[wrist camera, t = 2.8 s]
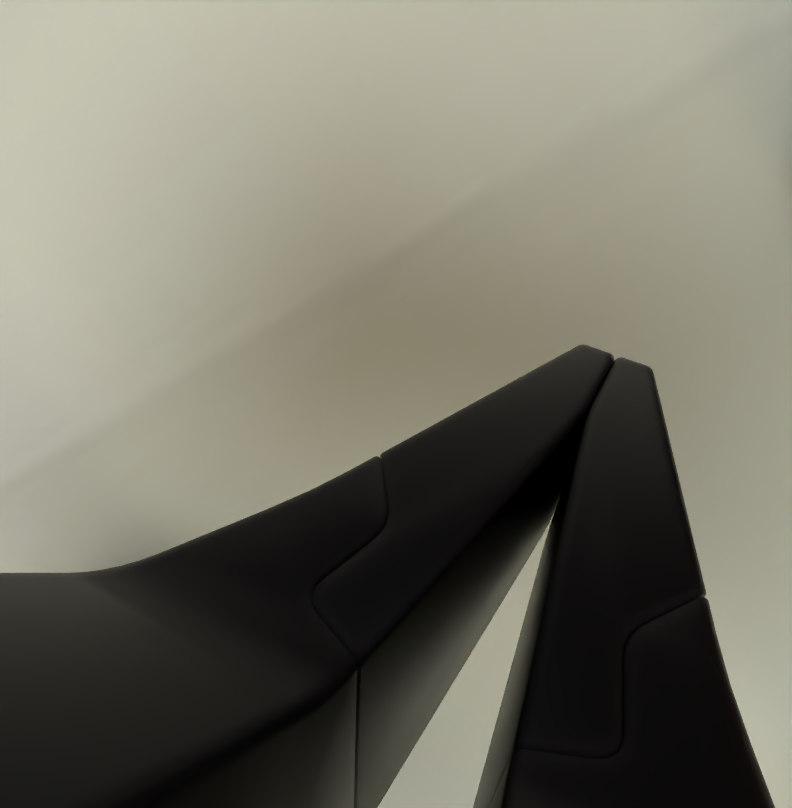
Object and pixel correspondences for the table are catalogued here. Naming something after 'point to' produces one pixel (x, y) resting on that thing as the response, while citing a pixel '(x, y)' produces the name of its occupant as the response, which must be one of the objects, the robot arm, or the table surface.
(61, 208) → the table surface
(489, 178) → the table surface
